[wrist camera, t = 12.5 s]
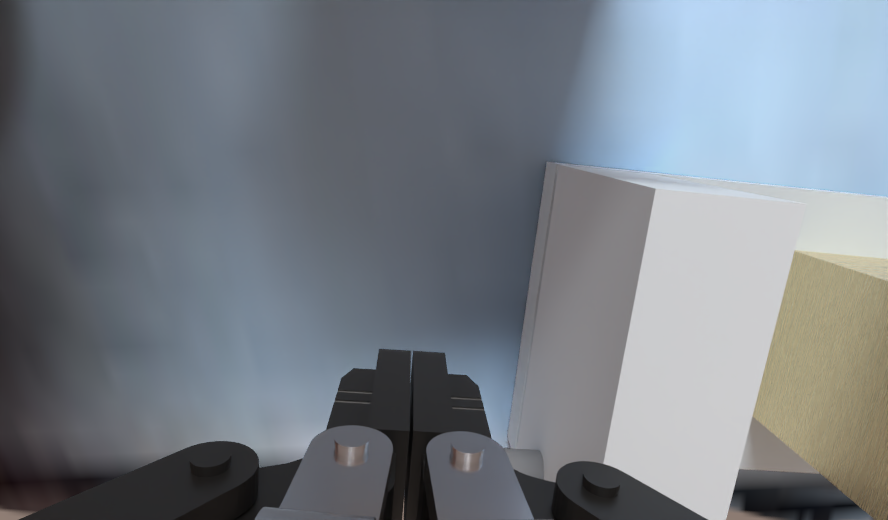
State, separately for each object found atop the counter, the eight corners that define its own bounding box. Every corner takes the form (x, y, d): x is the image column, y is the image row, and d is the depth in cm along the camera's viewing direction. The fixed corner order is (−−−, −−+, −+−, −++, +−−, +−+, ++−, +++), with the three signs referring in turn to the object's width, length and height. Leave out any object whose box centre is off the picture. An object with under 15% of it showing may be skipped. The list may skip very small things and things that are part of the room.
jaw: (367, 452, 22) (344, 629, 14) (391, 147, 19) (379, 160, 11) (609, 465, 23) (712, 640, 15) (665, 175, 20) (827, 205, 12)
